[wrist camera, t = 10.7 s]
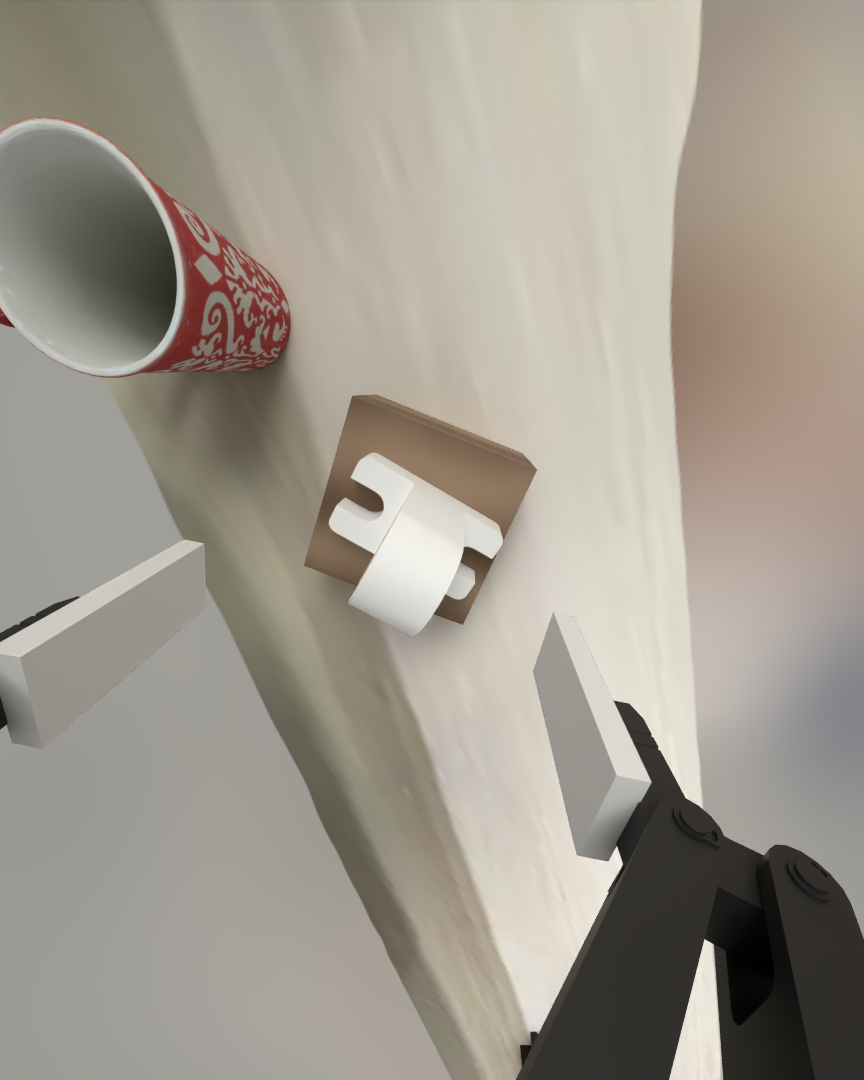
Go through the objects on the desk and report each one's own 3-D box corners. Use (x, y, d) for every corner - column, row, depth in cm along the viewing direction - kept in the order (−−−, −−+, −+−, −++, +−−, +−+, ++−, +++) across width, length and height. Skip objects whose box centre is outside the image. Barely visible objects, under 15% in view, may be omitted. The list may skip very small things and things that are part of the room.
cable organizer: (461, 588, 28) (460, 688, 19) (334, 517, 27) (265, 587, 18) (504, 527, 26) (525, 604, 17) (369, 448, 25) (313, 484, 16)
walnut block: (376, 394, 31) (352, 395, 24) (522, 453, 31) (537, 469, 25) (334, 532, 35) (304, 565, 28) (463, 581, 35) (462, 624, 29)
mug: (289, 231, 27) (137, 93, 14) (315, 375, 30) (208, 366, 18) (118, 256, 28) (-159, 150, 16) (160, 392, 31) (-44, 395, 19)
